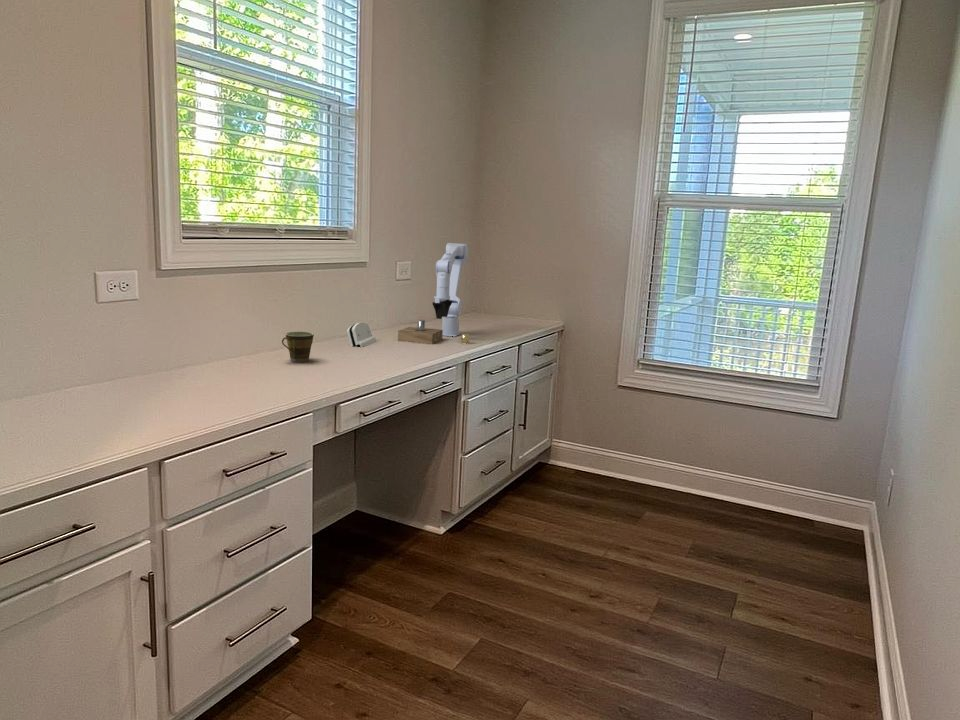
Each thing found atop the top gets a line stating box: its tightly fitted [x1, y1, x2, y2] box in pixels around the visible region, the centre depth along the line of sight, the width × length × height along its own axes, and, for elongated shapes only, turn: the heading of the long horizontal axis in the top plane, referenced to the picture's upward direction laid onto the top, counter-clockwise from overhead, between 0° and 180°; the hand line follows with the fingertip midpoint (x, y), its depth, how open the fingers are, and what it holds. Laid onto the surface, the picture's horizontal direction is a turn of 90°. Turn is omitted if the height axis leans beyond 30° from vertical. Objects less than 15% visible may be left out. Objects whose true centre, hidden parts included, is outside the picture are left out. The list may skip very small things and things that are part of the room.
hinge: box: [346, 322, 377, 348], centre depth 294 cm, size 17×5×10 cm, turn 167°
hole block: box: [397, 326, 443, 345], centre depth 309 cm, size 14×16×4 cm
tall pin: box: [416, 319, 426, 331], centre depth 309 cm, size 3×3×9 cm
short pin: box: [460, 333, 470, 345], centre depth 307 cm, size 3×3×4 cm
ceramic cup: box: [281, 331, 314, 363], centre depth 253 cm, size 13×10×10 cm
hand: (441, 317), depth 310 cm, fingers open, 7 cm apart
